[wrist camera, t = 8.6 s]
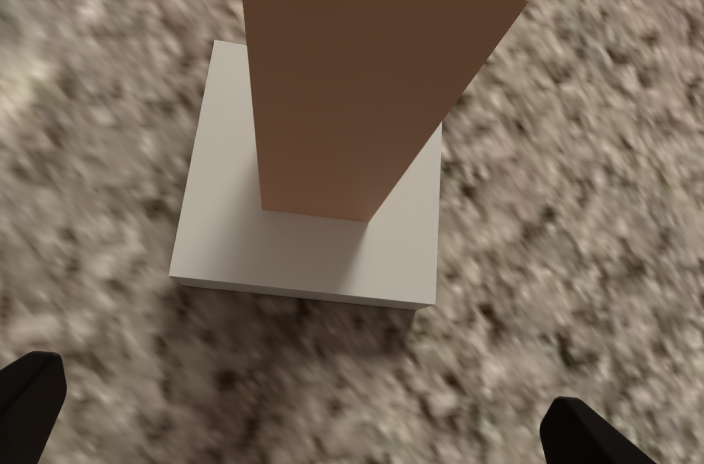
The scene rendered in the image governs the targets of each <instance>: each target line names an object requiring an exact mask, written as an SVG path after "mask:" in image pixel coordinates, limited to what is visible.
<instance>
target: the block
mask: <svg viewBox="0 0 704 464" xmlns="http://www.w3.org/2000/svg"><path fill="white" fill-rule="evenodd" d="M528 2H529V0H243V10H244V20H245V31H246V42H247V53H248V64H249V75H250V86H251V97H252V107H253V118H254V129H255V140H256V151H257V162H258V173H259V184H260V194H261V205H262V210H270V211H278V212H286V213H294V214H302V215H311V216H319V217H327V218H335V219H343V220H351V221H359V222H367V223H369V221H370V220H371V219H372V217H373V216H374V215H375V213H376V212H377V210H378V209H379V208H380V206H381V205H382V204H383V202H384V201H385V199H386V198H387V197H388V195H389V194H390V192H391V191H392V190H393V188H394V187H395V186H396V184H397V183H398V181H399V180H400V179H401V177H402V176H403V175H404V173H405V172H406V170H407V169H408V168H409V166H410V165H411V163H412V162H413V161H414V159H415V158H416V157H417V155H418V154H419V152H420V151H421V150H422V148H423V147H424V146H425V144H426V143H427V141H428V140H429V139H430V137H431V136H432V134H433V133H434V132H435V130H436V129H437V128H438V126H439V125H440V123H441V122H442V121H443V119H444V118H445V117H446V115H447V114H448V112H449V111H450V110H451V108H452V107H453V105H454V104H455V103H456V101H457V100H458V99H459V97H460V96H461V94H462V93H463V92H464V90H465V89H466V88H467V86H468V85H469V83H470V82H471V81H472V79H473V78H474V77H475V75H476V74H477V72H478V71H479V70H480V68H481V67H482V65H483V64H484V63H485V61H486V60H487V59H488V57H489V56H490V54H491V53H492V52H493V50H494V49H495V48H496V46H497V45H498V43H499V42H500V41H501V39H502V38H503V36H504V35H505V34H506V32H507V31H508V30H509V28H510V27H511V25H512V24H513V23H514V21H515V20H516V19H517V17H518V16H519V14H520V13H521V12H522V10H523V9H524V7H525V6H526V5H527V3H528Z"/></svg>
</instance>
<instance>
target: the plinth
mask: <svg viewBox="0 0 704 464" xmlns="http://www.w3.org/2000/svg"><path fill="white" fill-rule="evenodd" d="M441 136H442V122H441V123H440V125H439V126H438V128H437V129H436V130H435V132H434V133H433V134H432V136H431V137H430V139H429V140H428V141H427V143H426V144H425V146H424V147H423V148H422V150H421V151H420V152H419V154H418V155H417V157H416V158H415V159H414V161H413V162H412V163H411V165H410V166H409V168H408V169H407V170H406V172H405V173H404V175H403V176H402V177H401V179H400V180H399V181H398V183H397V184H396V186H395V187H394V188H393V190H392V191H391V192H390V194H389V195H388V197H387V198H386V199H385V201H384V202H383V204H382V205H381V206H380V208H379V209H378V210H377V212H376V213H375V215H374V216H373V217H372V219H371V220H370V221H369V223H367V222H359V221H351V220H343V219H335V218H327V217H319V216H311V215H302V214H294V213H286V212H278V211H270V210H262V205H261V194H260V184H259V173H258V162H257V151H256V140H255V129H254V118H253V107H252V97H251V86H250V75H249V64H248V53H247V46H246V45H240V44H235V43H229V42H223V41H218V40H215V41H214V46H213V52H212V57H211V62H210V67H209V72H208V77H207V82H206V87H205V92H204V97H203V103H202V108H201V113H200V118H199V123H198V128H197V133H196V138H195V143H194V148H193V154H192V159H191V164H190V169H189V174H188V179H187V184H186V189H185V194H184V199H183V205H182V210H181V215H180V220H179V225H178V230H177V235H176V240H175V245H174V250H173V256H172V261H171V266H170V271H169V276H170V277H171V278H172V279H174V280H175V281H177V282H178V283H179V284H181V285H183V286H192V287H202V288H211V289H220V290H230V291H239V292H249V293H258V294H268V295H277V296H287V297H296V298H305V299H315V300H324V301H334V302H343V303H353V304H362V305H372V306H381V307H390V308H400V309H409V310H419V309H422V308H426V307H429V306H432V305H435V299H436V272H437V245H438V218H439V191H440V163H441Z"/></svg>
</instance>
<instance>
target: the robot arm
mask: <svg viewBox="0 0 704 464" xmlns="http://www.w3.org/2000/svg"><path fill="white" fill-rule="evenodd" d="M66 392H67V384H66V379H65V373H64V367H63V362H62V358H61V356H60V355H59V354H58V353H55V352H43V351H32V352H30V353H28V354H26V355H24V356H22V357H21V358H19V359H18V360H16V361H14V362H13V363H11V364H9V365H8V366H6V367H4V368H3V369H1V370H0V464H38V462H39V459H40V457H41V454H42V452H43V450H44V447H45V445H46V443H47V440H48V438H49V436H50V433H51V431H52V429H53V426H54V424H55V422H56V419H57V417H58V414H59V412H60V410H61V407H62V405H63V403H64V400H65V397H66ZM540 438H541V442H542V446H543V450H544V454H545V458H546V462H547V464H656V463H655V462H654V461H653V460H652V459H651V458H649V457H648V456H647V455H646V454H645V453H643V452H642V451H641V450H640V449H639V448H638V447H636V446H635V445H634V444H633V443H632V442H630V441H629V440H628V439H627V438H626V437H625V436H623V435H622V434H621V433H620V432H619V431H617V430H616V429H615V428H614V427H613V426H612V425H610V424H609V423H608V422H607V421H606V420H604V419H603V418H602V417H601V416H600V415H598V414H597V413H596V412H595V411H594V410H593V409H591V408H590V407H589V406H588V405H587V404H585V403H584V402H583V401H582V400H580V399H578V398H574V397H563V396H559V397H557V398H555V399H554V400H553V402H552V404H551V406H550V407H549V409H548V411H547V413H546V415H545V416H544V418H543V420H542V422H541V424H540Z"/></svg>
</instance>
